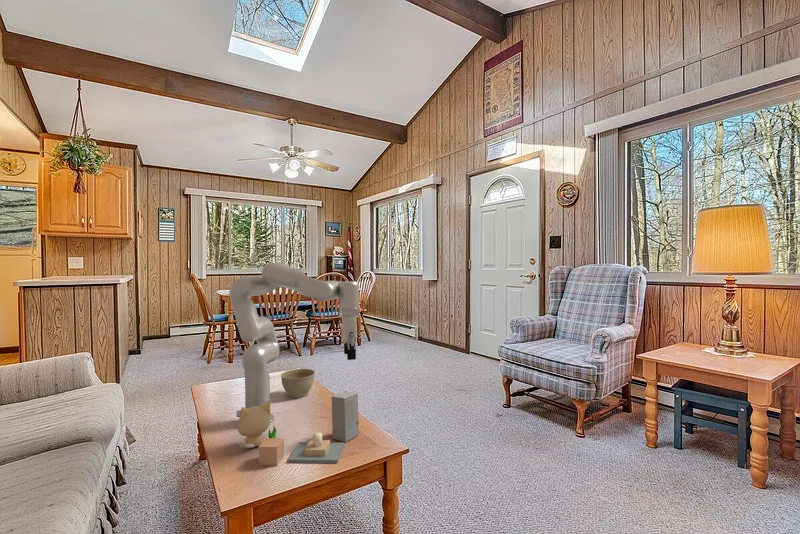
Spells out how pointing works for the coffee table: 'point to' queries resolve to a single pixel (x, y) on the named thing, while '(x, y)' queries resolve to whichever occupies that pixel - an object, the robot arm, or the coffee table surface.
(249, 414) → the kitten
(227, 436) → the coffee table surface
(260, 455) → the peach cardboard cube
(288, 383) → the planter bowl
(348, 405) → the skincare box
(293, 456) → the post board
